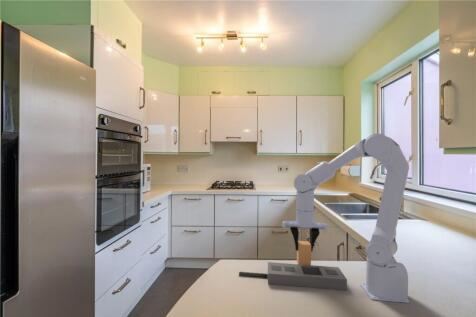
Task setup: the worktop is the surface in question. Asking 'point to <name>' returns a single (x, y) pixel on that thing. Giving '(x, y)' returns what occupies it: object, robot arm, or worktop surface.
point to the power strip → (303, 276)
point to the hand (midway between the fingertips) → (303, 250)
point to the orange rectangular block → (304, 253)
